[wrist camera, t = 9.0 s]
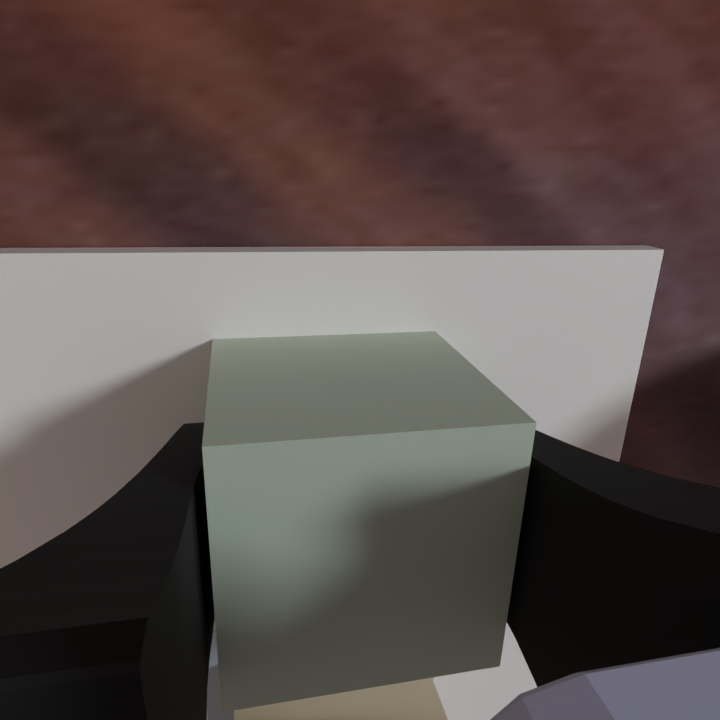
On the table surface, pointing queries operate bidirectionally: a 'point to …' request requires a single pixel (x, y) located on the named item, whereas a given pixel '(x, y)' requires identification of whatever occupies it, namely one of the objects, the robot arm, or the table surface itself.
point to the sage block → (357, 512)
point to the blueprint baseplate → (293, 318)
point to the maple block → (359, 705)
